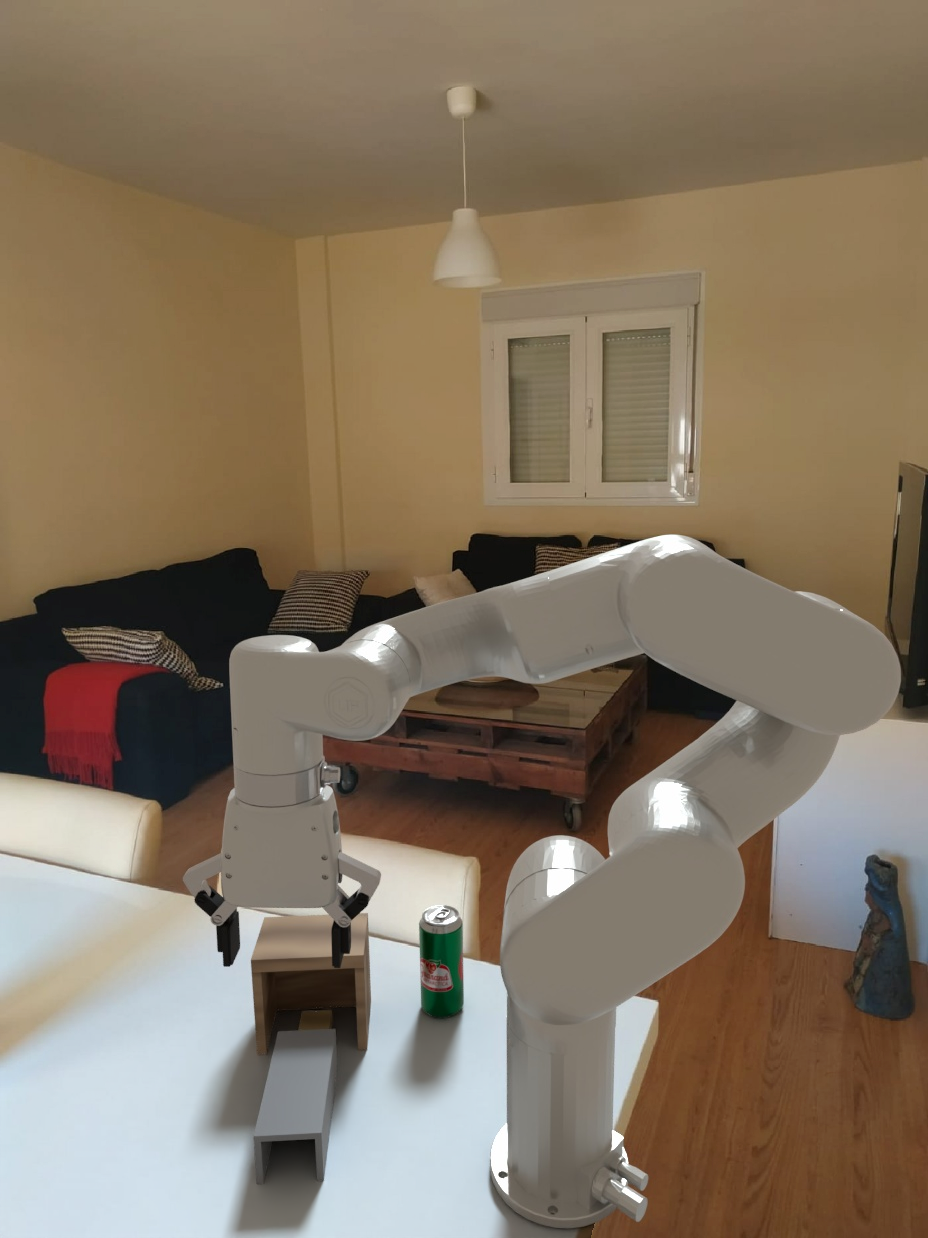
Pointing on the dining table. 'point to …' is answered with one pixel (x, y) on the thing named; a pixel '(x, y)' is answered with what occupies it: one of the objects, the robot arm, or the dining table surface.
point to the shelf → (309, 974)
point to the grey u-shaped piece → (298, 1095)
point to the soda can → (441, 961)
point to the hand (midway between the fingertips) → (285, 958)
